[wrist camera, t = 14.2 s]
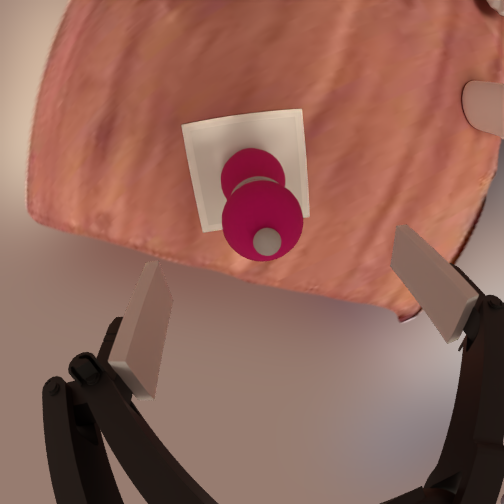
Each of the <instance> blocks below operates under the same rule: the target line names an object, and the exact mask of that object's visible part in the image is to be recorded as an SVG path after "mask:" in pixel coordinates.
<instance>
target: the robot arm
mask: <svg viewBox="0 0 504 504" xmlns="http://www.w3.org/2000/svg"><path fill="white" fill-rule="evenodd" d="M390 267H391V268H392V269H393V270H394V272H395V273H396V274H397V275H398V277H399V278H400V279H401V280H402V282H403V283H404V284H405V286H406V287H407V288H408V289H409V291H410V292H411V293H412V295H413V296H414V297H415V299H416V300H417V301H418V303H419V304H420V305H421V307H422V308H423V310H424V311H425V312H426V314H427V315H428V317H429V318H430V319H431V321H432V322H433V323H434V325H435V326H436V328H437V329H438V331H439V332H440V334H441V335H442V337H443V338H444V340H445V341H446V343H447V344H449V343H451V342H453V341H455V340H458V339H459V337H460V335H461V333H462V331H464V332H465V333H466V336H465V338H464V340H463V342H462V343H461V345H460V347H459V350H458V351H460V350H461V348H462V347H463V354H462V363H461V370H460V377H459V383H458V389H457V394H456V399H455V404H454V409H453V413H452V417H451V421H450V426H449V429H448V433H447V436H446V440H445V443H444V446H443V450H442V453H441V456H440V459H439V461H438V464H437V466H436V467H435V469H434V470H433V471H432V473H431V474H430V476H429V477H428V479H427V481H426V483H425V486H424V488H422V486H421V487H419V488H417V489H414V490H412V491H410V492H408V493H405V494H403V495H400V496H398V497H396V498H393V499H391V500H388V501H386V502H383V503H380V504H496V501H497V498H498V495H499V492H500V489H501V485H502V482H503V478H504V446H503V437H504V303H503V302H502V301H501V300H500V299H499V298H498V297H496V296H494V295H487V296H485V294H484V293H483V292H482V291H481V290H480V289H479V288H478V287H477V286H476V285H475V284H474V283H473V282H472V281H471V280H470V279H469V277H468V276H467V275H465V273H464V272H463V271H461V269H460V268H459V267H457V266H455V265H454V264H452V263H448V262H447V261H446V260H445V259H444V258H443V257H442V256H441V255H440V254H439V253H438V252H437V251H436V250H435V249H434V248H433V247H431V246H430V245H429V244H428V243H427V242H426V241H425V240H424V239H423V238H422V237H420V236H419V235H418V234H417V233H416V232H415V231H414V230H413V229H411V228H410V227H409V226H408V225H407V224H406V225H399V226H396V231H395V239H394V246H393V253H392V259H391V265H390ZM172 304H173V298H172V295H171V293H170V290H169V287H168V285H167V282H166V279H165V276H164V273H163V270H162V268H161V265H160V262H159V260H158V261H151V262H146V264H145V266H144V268H143V270H142V273H141V275H140V277H139V280H138V282H137V284H136V287H135V289H134V292H133V294H132V296H131V299H130V301H129V304H128V306H127V309H126V312H125V314H124V317H116V318H115V319H114V320H113V322H112V323H111V324H110V325H109V327H108V330H107V333H106V335H105V338H104V340H103V341H104V342H103V343H102V345H101V348H100V350H99V353H98V356H97V359H96V358H95V356H94V355H93V354H92V353H89V352H83V353H81V354H79V355H77V356H76V357H74V358H73V360H72V361H71V362H70V364H69V368H68V370H69V374H70V375H71V376H72V377H73V379H75V381H72V382H68V383H66V382H65V381H64V380H63V379H62V378H61V377H58V376H56V377H52V378H50V379H49V380H48V381H47V382H46V383H45V385H44V387H43V391H42V401H43V422H44V434H45V443H46V452H47V458H48V465H49V471H50V475H51V481H52V486H53V490H54V494H55V498H56V502H57V504H124V503H123V500H122V498H121V495H120V493H119V490H118V487H117V484H116V481H115V479H114V476H113V473H112V470H111V467H110V464H109V460H108V457H107V453H106V450H105V446H104V443H103V439H102V435H101V432H102V433H103V435H104V437H105V439H106V441H107V442H108V444H109V446H110V448H111V450H112V451H113V453H114V455H115V456H116V458H117V459H118V461H119V463H120V464H121V466H122V467H123V469H124V471H125V472H126V474H127V475H128V476H129V478H130V479H131V481H132V482H133V484H134V485H135V487H136V488H137V489H138V491H139V492H140V494H141V495H142V496H143V498H144V499H145V500H146V501H147V503H148V504H218V503H217V502H216V501H215V500H214V499H213V498H212V497H211V496H210V495H209V494H208V493H207V492H206V491H205V490H204V489H203V488H202V487H201V486H200V485H199V484H198V483H197V482H196V481H195V480H194V479H193V478H192V477H191V476H190V475H189V474H188V473H187V472H186V471H185V469H184V468H183V467H182V466H181V465H180V464H179V463H178V461H177V460H176V459H175V458H174V457H173V456H172V454H171V453H170V452H169V451H168V450H167V448H166V447H165V446H164V445H163V443H162V442H161V441H160V440H159V438H158V437H157V436H156V434H155V433H154V432H153V430H152V429H151V428H150V426H149V425H148V424H147V422H146V421H145V419H144V418H143V417H142V415H141V414H140V412H139V411H138V410H137V408H136V407H135V405H134V404H133V402H132V401H131V398H132V394H134V395H135V397H136V398H137V399H138V400H154V399H155V393H156V387H157V381H158V375H159V369H160V363H161V358H162V352H163V347H164V342H165V337H166V332H167V327H168V323H169V318H170V313H171V309H172ZM100 430H101V431H100ZM501 504H504V495H503V496H502V498H501Z"/></svg>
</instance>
